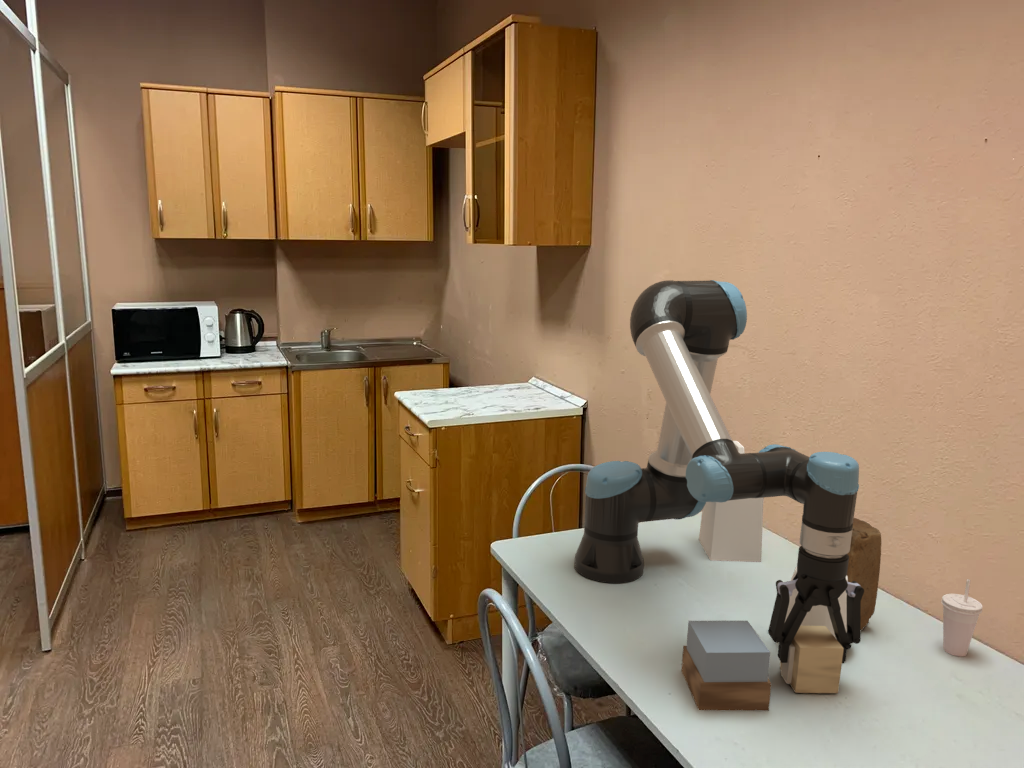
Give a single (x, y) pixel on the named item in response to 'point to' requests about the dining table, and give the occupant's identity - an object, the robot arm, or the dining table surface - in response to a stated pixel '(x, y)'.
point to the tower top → (727, 651)
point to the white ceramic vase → (820, 611)
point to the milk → (733, 528)
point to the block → (865, 565)
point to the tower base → (724, 691)
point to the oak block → (816, 661)
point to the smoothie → (959, 621)
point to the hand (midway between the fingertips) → (808, 679)
